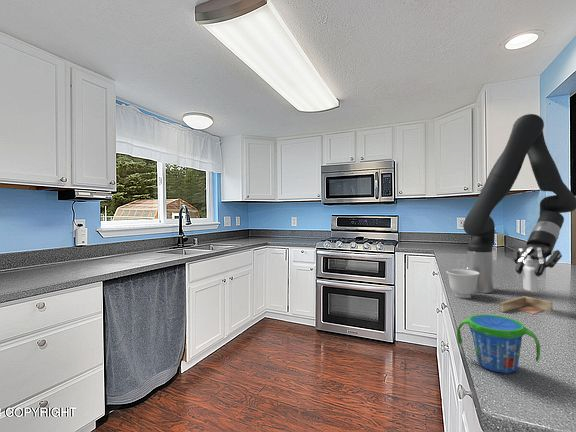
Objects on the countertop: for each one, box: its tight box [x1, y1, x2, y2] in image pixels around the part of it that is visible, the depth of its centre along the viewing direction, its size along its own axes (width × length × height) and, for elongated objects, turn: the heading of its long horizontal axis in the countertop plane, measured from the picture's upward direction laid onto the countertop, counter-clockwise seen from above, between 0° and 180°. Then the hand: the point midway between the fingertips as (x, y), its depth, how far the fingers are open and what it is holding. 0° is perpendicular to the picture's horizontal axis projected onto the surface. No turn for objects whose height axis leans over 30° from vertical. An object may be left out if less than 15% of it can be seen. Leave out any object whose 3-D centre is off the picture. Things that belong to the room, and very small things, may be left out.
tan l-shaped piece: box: [498, 295, 554, 315], centre depth 104 cm, size 9×16×3 cm, turn 117°
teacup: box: [445, 268, 480, 299], centre depth 125 cm, size 12×15×10 cm
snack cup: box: [456, 314, 541, 375], centre depth 69 cm, size 16×10×10 cm
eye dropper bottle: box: [522, 255, 539, 293], centre depth 105 cm, size 4×6×12 cm
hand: (527, 273), depth 104 cm, fingers closed on eye dropper bottle, 5 cm apart
